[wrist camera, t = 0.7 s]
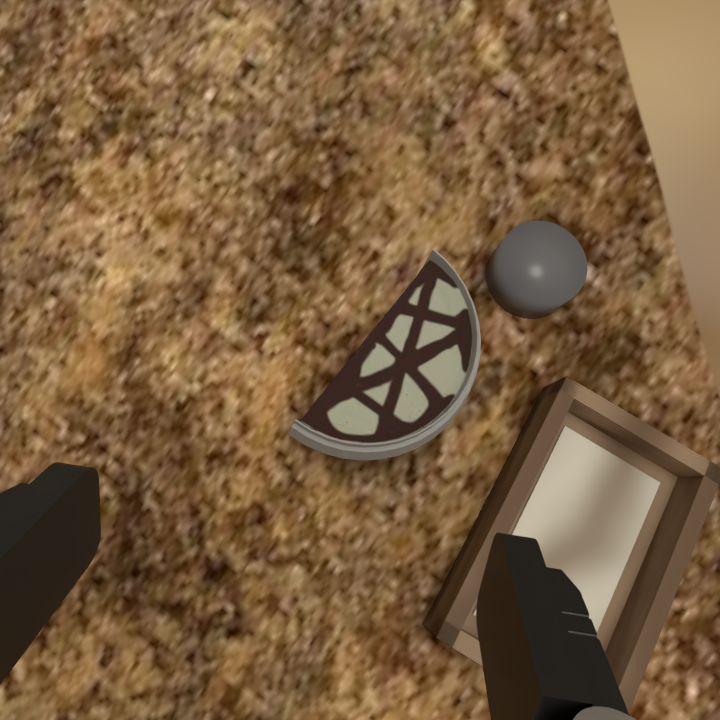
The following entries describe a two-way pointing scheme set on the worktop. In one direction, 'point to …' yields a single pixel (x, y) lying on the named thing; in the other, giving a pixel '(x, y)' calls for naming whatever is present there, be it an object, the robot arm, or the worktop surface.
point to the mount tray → (590, 523)
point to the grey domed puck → (536, 269)
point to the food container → (401, 374)
